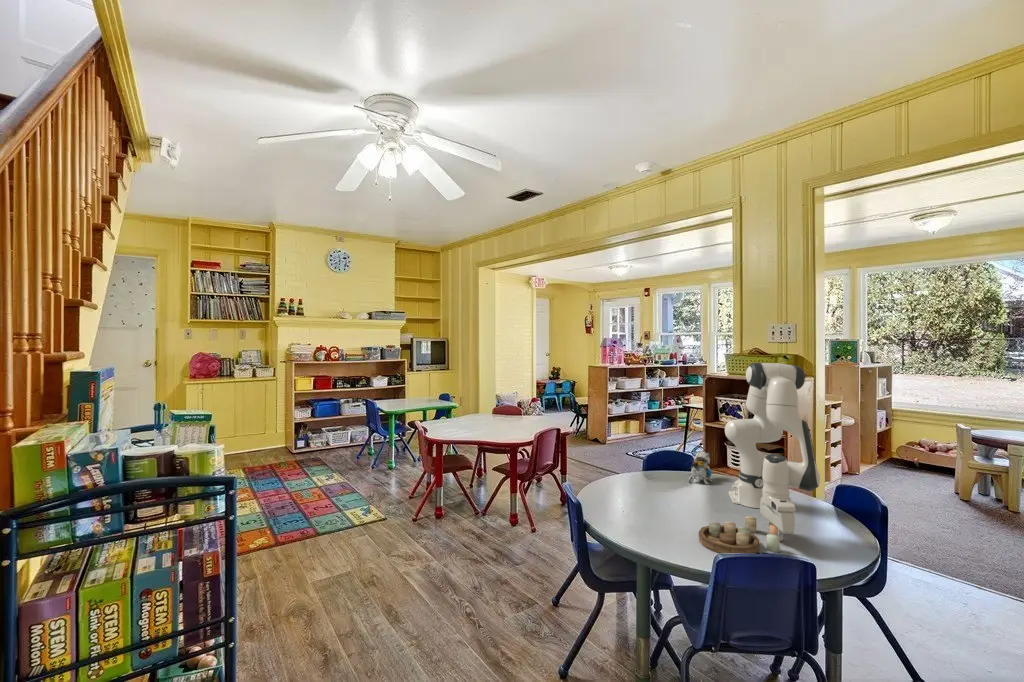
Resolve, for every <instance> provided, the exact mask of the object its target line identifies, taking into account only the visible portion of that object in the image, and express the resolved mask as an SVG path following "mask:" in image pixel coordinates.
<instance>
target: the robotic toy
mask: <svg viewBox="0 0 1024 682" xmlns="http://www.w3.org/2000/svg"><path fill="white" fill-rule="evenodd" d="M689 462H691V460H689ZM689 462H686V463H685V464H686V465H687V463H689ZM710 462H711V458H710V452H705V451H704V450H699V451H696V452H695V456H694V457H693V460H692V465H691V466H690V469H691V471H690V477H688V483H691V482H692V480H696V481H698V480H699V481H703V483H704V485H710V482H713V479H712V478H711V477H712V475H713V473H712V469H711V468H710V466H709V464H710ZM707 480H708V481H707Z"/></svg>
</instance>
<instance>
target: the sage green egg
mask: <svg viewBox="0 0 1024 682" xmlns="http://www.w3.org/2000/svg"><path fill="white" fill-rule="evenodd" d="M780 550H781V549H780V542H779V536H777V535H773V534H770V533H769V534H768V533H767V534H766V551H768V552H770V553H774V554H779V553H780V552H781V551H780Z"/></svg>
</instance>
